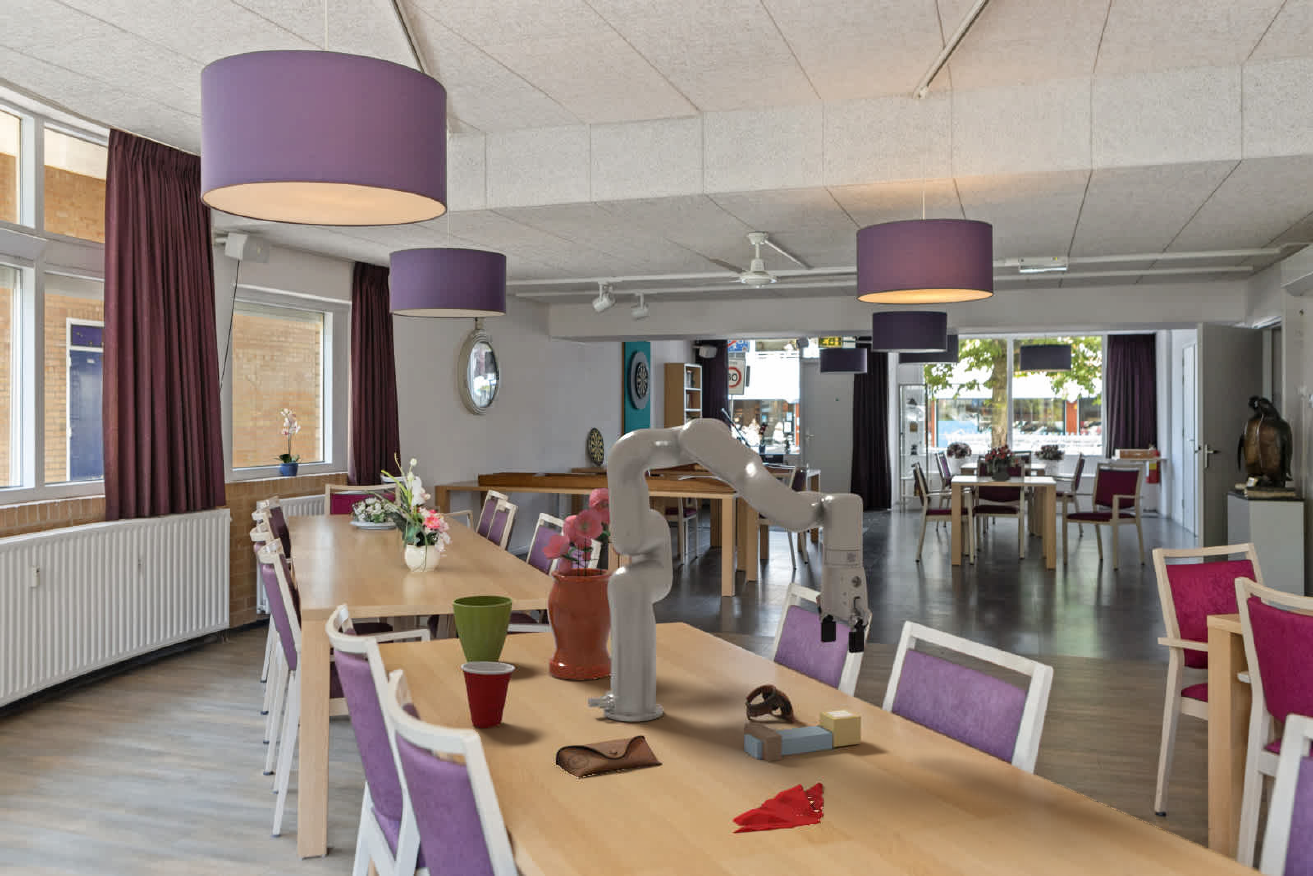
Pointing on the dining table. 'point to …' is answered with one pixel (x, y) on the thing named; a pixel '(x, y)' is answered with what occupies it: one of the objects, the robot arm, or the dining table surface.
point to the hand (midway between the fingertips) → (842, 647)
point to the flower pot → (482, 626)
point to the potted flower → (580, 596)
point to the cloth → (784, 810)
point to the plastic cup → (486, 691)
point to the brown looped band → (768, 702)
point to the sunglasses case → (606, 756)
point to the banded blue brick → (784, 741)
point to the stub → (842, 726)
